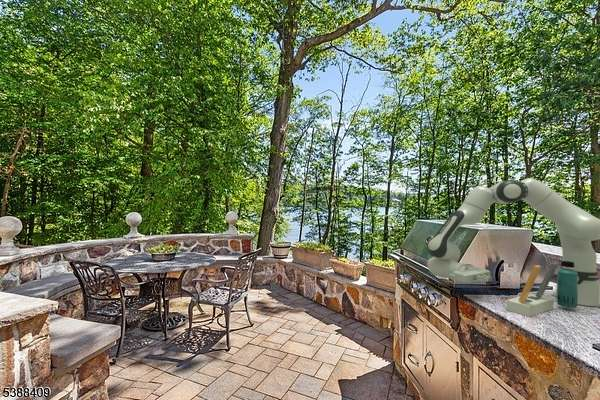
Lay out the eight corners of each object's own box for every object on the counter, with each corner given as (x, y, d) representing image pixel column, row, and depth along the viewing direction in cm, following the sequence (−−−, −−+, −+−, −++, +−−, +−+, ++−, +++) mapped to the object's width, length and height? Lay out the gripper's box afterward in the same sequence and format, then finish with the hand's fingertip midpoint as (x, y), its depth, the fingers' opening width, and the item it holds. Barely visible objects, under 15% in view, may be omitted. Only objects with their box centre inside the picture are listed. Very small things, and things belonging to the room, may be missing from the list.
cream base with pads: (530, 302, 127) (530, 292, 127) (553, 308, 120) (553, 298, 120) (506, 309, 118) (506, 299, 118) (529, 316, 110) (529, 305, 110)
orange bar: (522, 299, 117) (537, 264, 112) (525, 301, 116) (541, 266, 111) (518, 300, 115) (533, 265, 111) (521, 302, 114) (537, 267, 110)
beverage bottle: (568, 306, 122) (569, 259, 123) (582, 312, 116) (583, 263, 116) (552, 305, 123) (552, 259, 123) (565, 311, 116) (565, 262, 117)
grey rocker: (538, 294, 123) (555, 262, 118) (542, 296, 122) (558, 263, 117) (535, 295, 122) (551, 262, 117) (538, 297, 121) (555, 264, 116)
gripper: (445, 267, 133) (476, 274, 121) (472, 263, 143) (502, 270, 131) (445, 281, 133) (475, 289, 121) (471, 276, 143) (502, 283, 131)
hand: (489, 279), depth 126 cm, fingers closed
